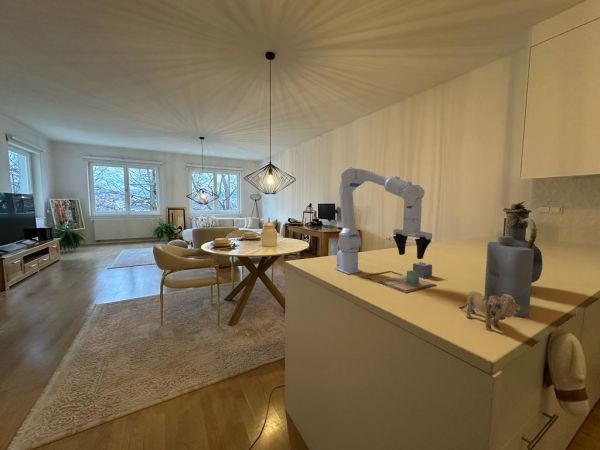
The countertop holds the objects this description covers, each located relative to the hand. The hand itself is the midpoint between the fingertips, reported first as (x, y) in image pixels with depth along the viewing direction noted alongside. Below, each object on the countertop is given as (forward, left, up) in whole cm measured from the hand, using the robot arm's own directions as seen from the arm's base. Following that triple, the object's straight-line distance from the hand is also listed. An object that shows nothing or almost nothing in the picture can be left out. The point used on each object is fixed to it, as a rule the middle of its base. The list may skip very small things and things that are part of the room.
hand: (410, 256), depth 89 cm
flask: (+25, +7, -11) cm, 28 cm away
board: (-5, -1, -10) cm, 11 cm away
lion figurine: (+28, -8, -11) cm, 31 cm away
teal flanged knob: (+2, 0, -10) cm, 10 cm away
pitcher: (+20, +27, -11) cm, 36 cm away
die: (-5, +13, -10) cm, 18 cm away
